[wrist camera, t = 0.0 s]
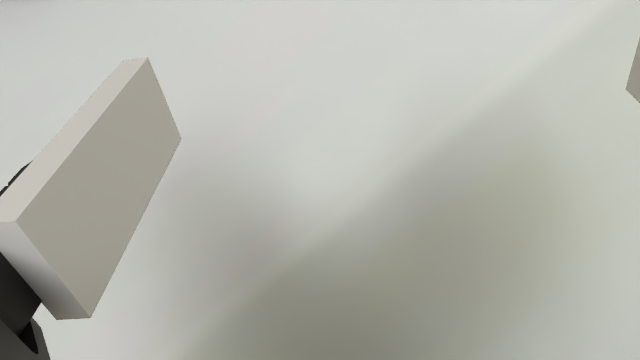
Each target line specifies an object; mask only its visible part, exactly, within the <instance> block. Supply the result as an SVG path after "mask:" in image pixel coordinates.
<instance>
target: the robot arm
mask: <svg viewBox="0 0 640 360" xmlns="http://www.w3.org/2000/svg"><path fill="white" fill-rule="evenodd" d="M626 90H627V91H628V92H629V93H630V94H631V95H632V96H633V97H634V98H635V99H636V100H637V101H638V102H639V103H640V39H639V43H638V46H637V50H636V53H635V57H634V61H633V64H632V68H631V71H630V75H629V79H628V82H627V86H626ZM180 141H181V136H180V134H179V131H178V129H177V127H176V124H175V122H174V119H173V117H172V114H171V112H170V110H169V107H168V105H167V102H166V100H165V97H164V95H163V93H162V90H161V88H160V85H159V83H158V80H157V78H156V75H155V73H154V71H153V68H152V66H151V63H150V61H149V58H141V59H134V60H126V61H122V62H121V64H120V65H119V66H118V67H117V68H116V69H115V70H114V71H113V72H112V74H111V75H110V76H109V77H108V78H107V79H106V80H105V81H104V82H103V83H102V85H101V86H100V87H99V88H98V89H97V90H96V91H95V92H94V93H93V95H92V96H91V97H90V98H89V99H88V100H87V101H86V102H85V103H84V105H83V106H82V107H81V108H80V109H79V110H78V111H77V112H76V113H75V114H74V116H73V117H72V118H71V119H70V120H69V121H68V122H67V123H66V124H65V126H64V127H63V128H62V129H61V130H60V131H59V132H58V133H57V134H56V136H55V137H54V138H53V139H52V140H51V141H50V142H49V143H48V144H47V145H46V147H45V148H44V149H43V150H42V151H41V152H40V153H39V154H38V155H37V157H36V158H35V159H34V160H33V161H31V162H30V163H29V164H27V165H26V166H24V167H23V168H22V169H21V170H20V171H19V172H18V173H17V174H16V175H15V176H14V177H13V178H12V179H11V181H10V182H9V183H8V186H5V187H4V188H3V189H2V190H1V191H0V360H50V357H49V353H48V350H47V346H46V343H45V340H44V336H43V333H42V330H41V327H40V326H39V325H38V324H37V322H36V321H35V320H34V319H33V318H32V316H33V315H34V313H35V311H36V310H37V308H38V307H39V305H40V303H41V302H42V303H43V305H44V306H45V307H46V308H47V309H48V310H49V312H50V313H51V314H52V315H53V316H54V317H55V319H56V320H63V319H80V318H91V316H92V314H93V312H94V310H95V308H96V306H97V304H98V302H99V300H100V298H101V296H102V294H103V292H104V290H105V288H106V286H107V285H108V283H109V281H110V279H111V277H112V275H113V273H114V271H115V269H116V267H117V265H118V263H119V261H120V259H121V257H122V255H123V253H124V251H125V249H126V247H127V245H128V243H129V241H130V239H131V237H132V235H133V233H134V231H135V229H136V227H137V226H138V224H139V222H140V220H141V218H142V216H143V214H144V212H145V210H146V208H147V206H148V204H149V202H150V200H151V198H152V196H153V194H154V192H155V190H156V188H157V186H158V184H159V182H160V180H161V178H162V176H163V174H164V172H165V170H166V168H167V166H168V165H169V163H170V161H171V159H172V157H173V155H174V153H175V151H176V149H177V147H178V145H179V143H180Z"/></svg>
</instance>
